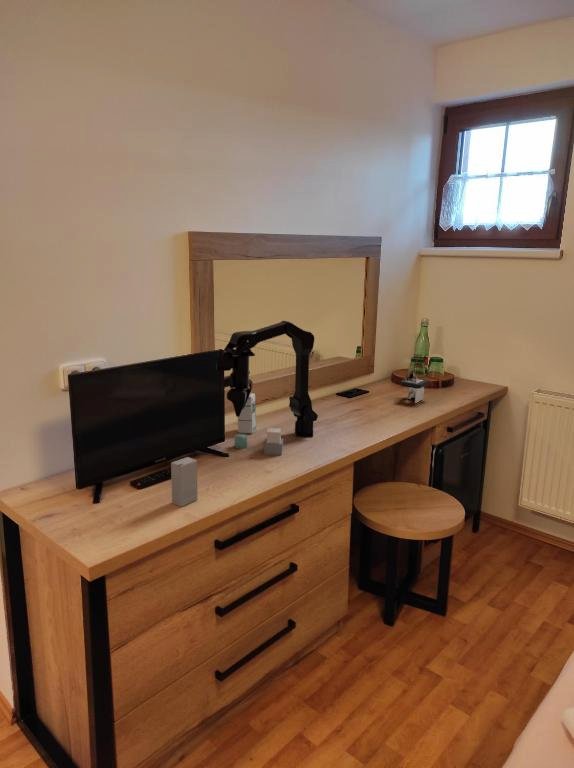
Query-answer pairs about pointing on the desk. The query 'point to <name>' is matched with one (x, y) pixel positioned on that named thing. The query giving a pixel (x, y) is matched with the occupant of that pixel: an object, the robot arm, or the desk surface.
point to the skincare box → (184, 481)
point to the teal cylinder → (240, 441)
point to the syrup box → (248, 416)
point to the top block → (274, 435)
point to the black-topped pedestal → (415, 386)
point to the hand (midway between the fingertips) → (240, 412)
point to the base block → (273, 448)
